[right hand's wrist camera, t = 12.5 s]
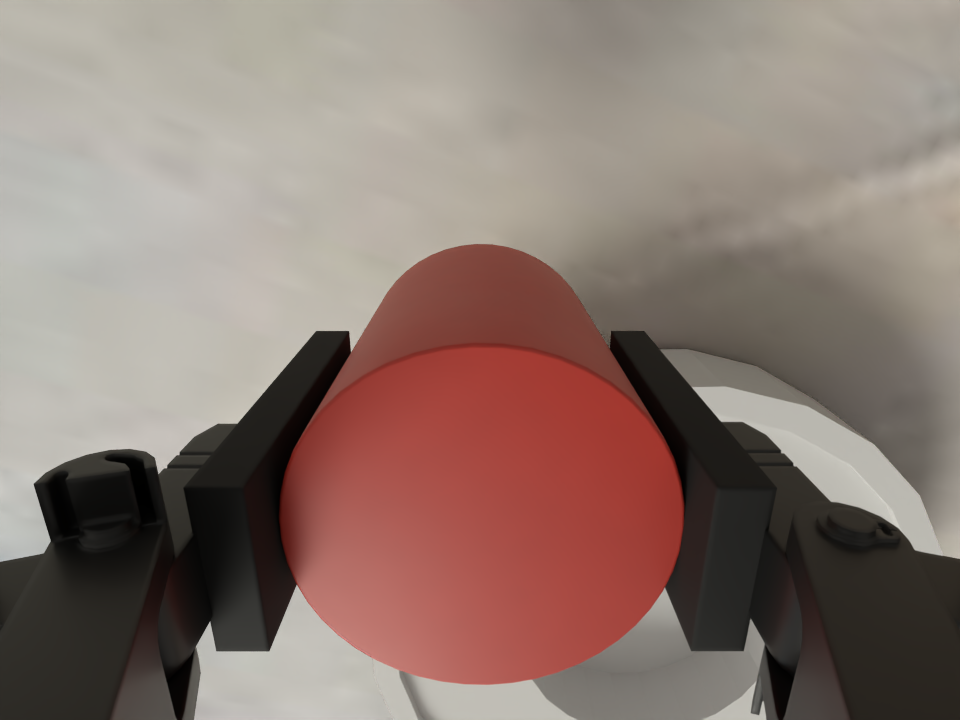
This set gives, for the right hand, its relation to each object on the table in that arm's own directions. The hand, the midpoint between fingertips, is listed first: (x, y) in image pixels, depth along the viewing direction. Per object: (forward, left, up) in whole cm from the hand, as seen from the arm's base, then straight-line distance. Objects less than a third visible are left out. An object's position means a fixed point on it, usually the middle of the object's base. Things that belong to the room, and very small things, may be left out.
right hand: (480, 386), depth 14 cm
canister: (0, 0, -2) cm, 2 cm away
